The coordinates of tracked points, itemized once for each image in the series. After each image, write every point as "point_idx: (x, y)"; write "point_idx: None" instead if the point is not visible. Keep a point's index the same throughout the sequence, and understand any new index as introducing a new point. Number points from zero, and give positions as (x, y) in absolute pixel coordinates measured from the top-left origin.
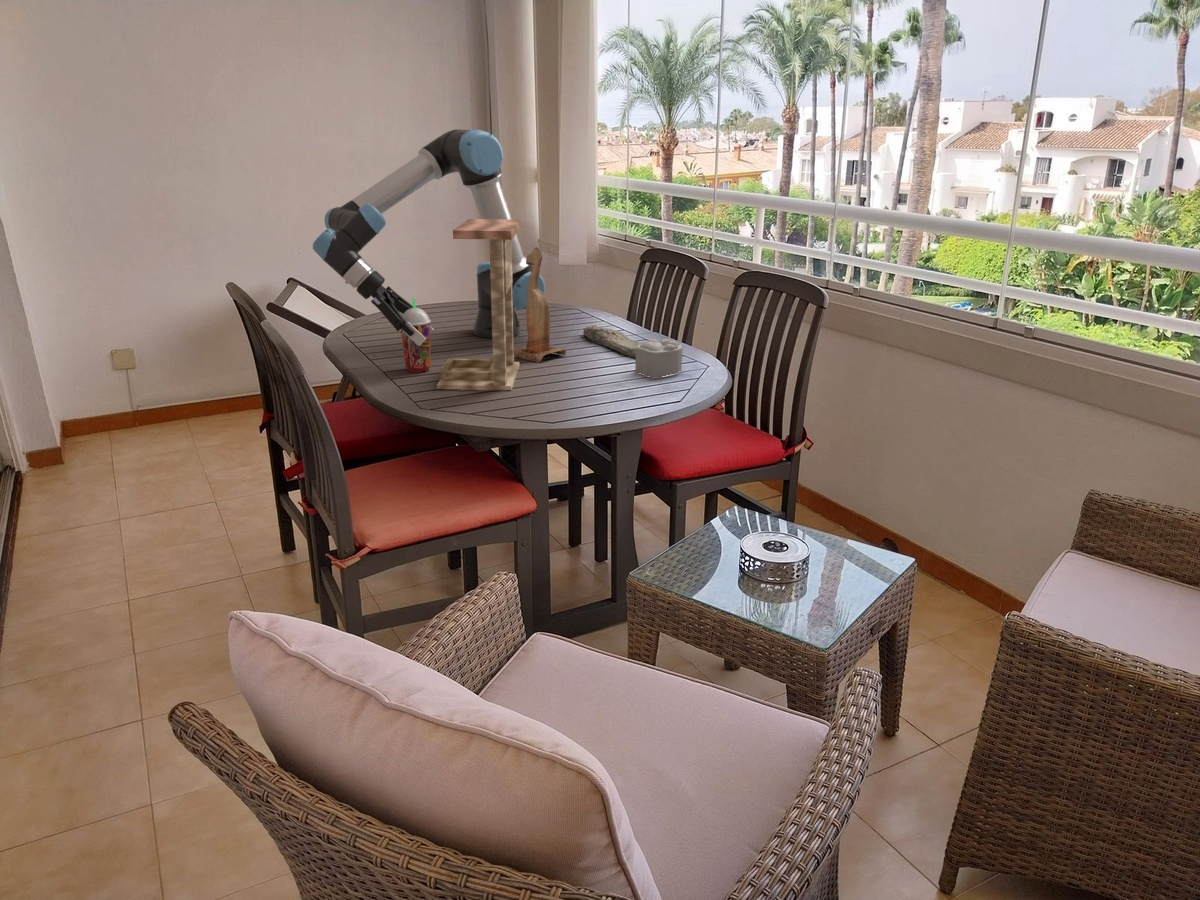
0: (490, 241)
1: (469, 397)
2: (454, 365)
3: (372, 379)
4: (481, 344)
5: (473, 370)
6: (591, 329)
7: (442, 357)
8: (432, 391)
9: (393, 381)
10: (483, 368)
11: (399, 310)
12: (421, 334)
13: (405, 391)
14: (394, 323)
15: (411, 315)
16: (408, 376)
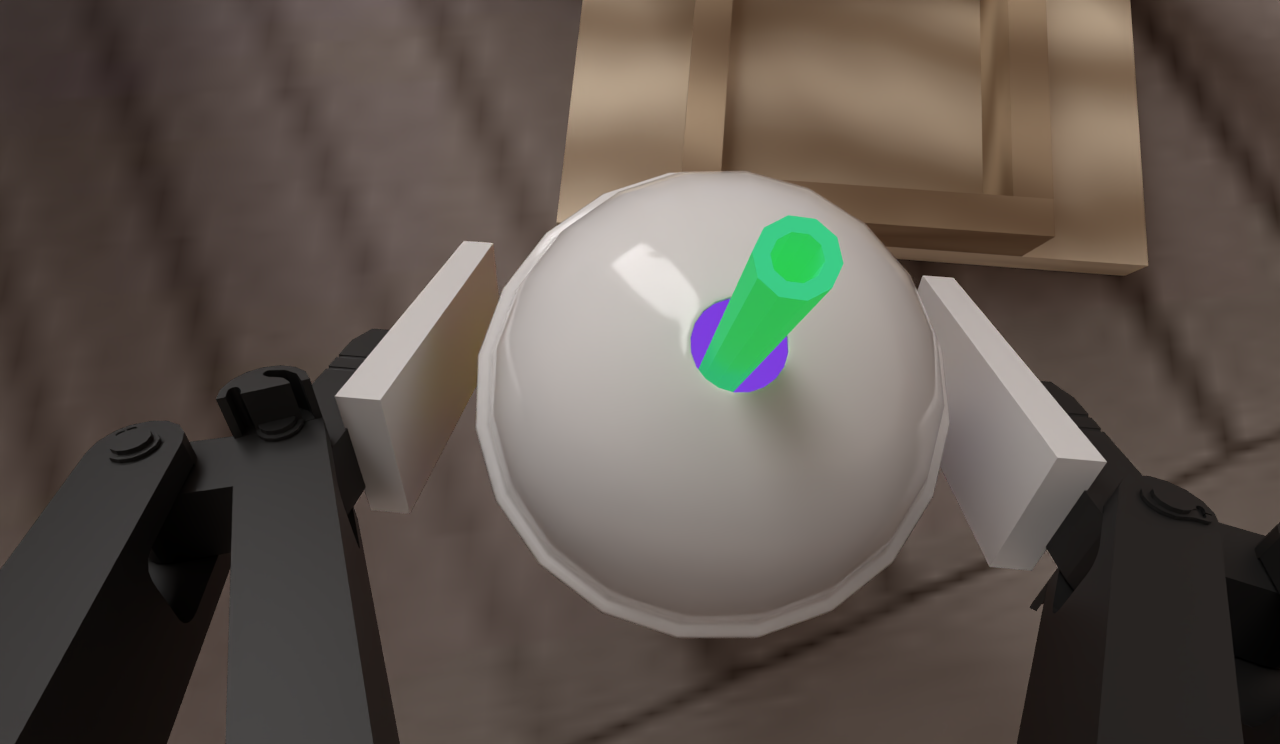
0: None
1: (1255, 91)
2: None
3: (915, 735)
4: (46, 91)
5: (798, 78)
6: None
7: (355, 310)
8: (1163, 299)
9: (958, 574)
10: (749, 25)
11: (392, 716)
12: (953, 309)
13: (1182, 464)
14: (1254, 682)
15: (931, 404)
16: None
